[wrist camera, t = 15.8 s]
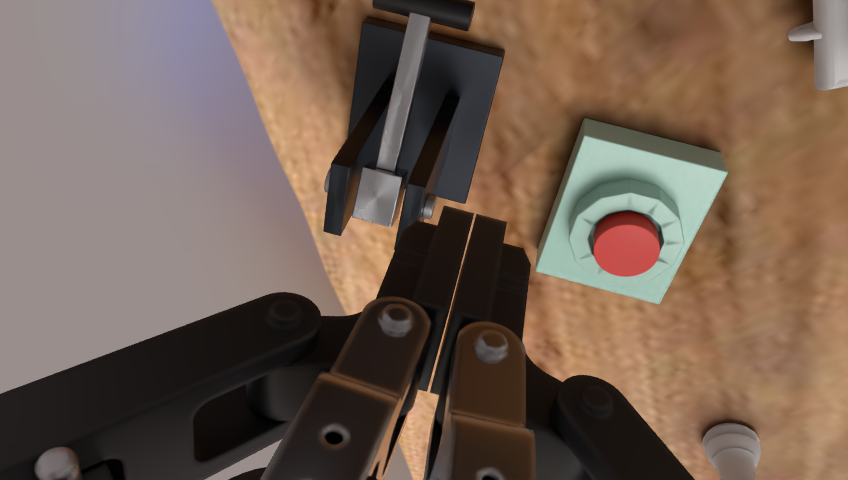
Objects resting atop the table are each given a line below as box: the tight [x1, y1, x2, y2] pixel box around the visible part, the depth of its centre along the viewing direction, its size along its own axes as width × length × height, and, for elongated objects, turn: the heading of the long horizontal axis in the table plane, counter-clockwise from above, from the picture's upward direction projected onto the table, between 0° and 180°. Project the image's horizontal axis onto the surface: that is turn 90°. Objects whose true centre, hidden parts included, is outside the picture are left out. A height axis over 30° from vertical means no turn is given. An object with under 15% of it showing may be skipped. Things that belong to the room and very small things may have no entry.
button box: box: [535, 118, 728, 304], centre depth 45 cm, size 11×9×4 cm
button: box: [593, 212, 660, 277], centre depth 43 cm, size 4×4×2 cm
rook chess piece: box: [703, 423, 761, 480], centre depth 54 cm, size 4×4×8 cm
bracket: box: [323, 16, 505, 250], centre depth 41 cm, size 11×9×13 cm
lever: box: [352, 0, 475, 227], centre depth 36 cm, size 12×5×2 cm, turn 170°
